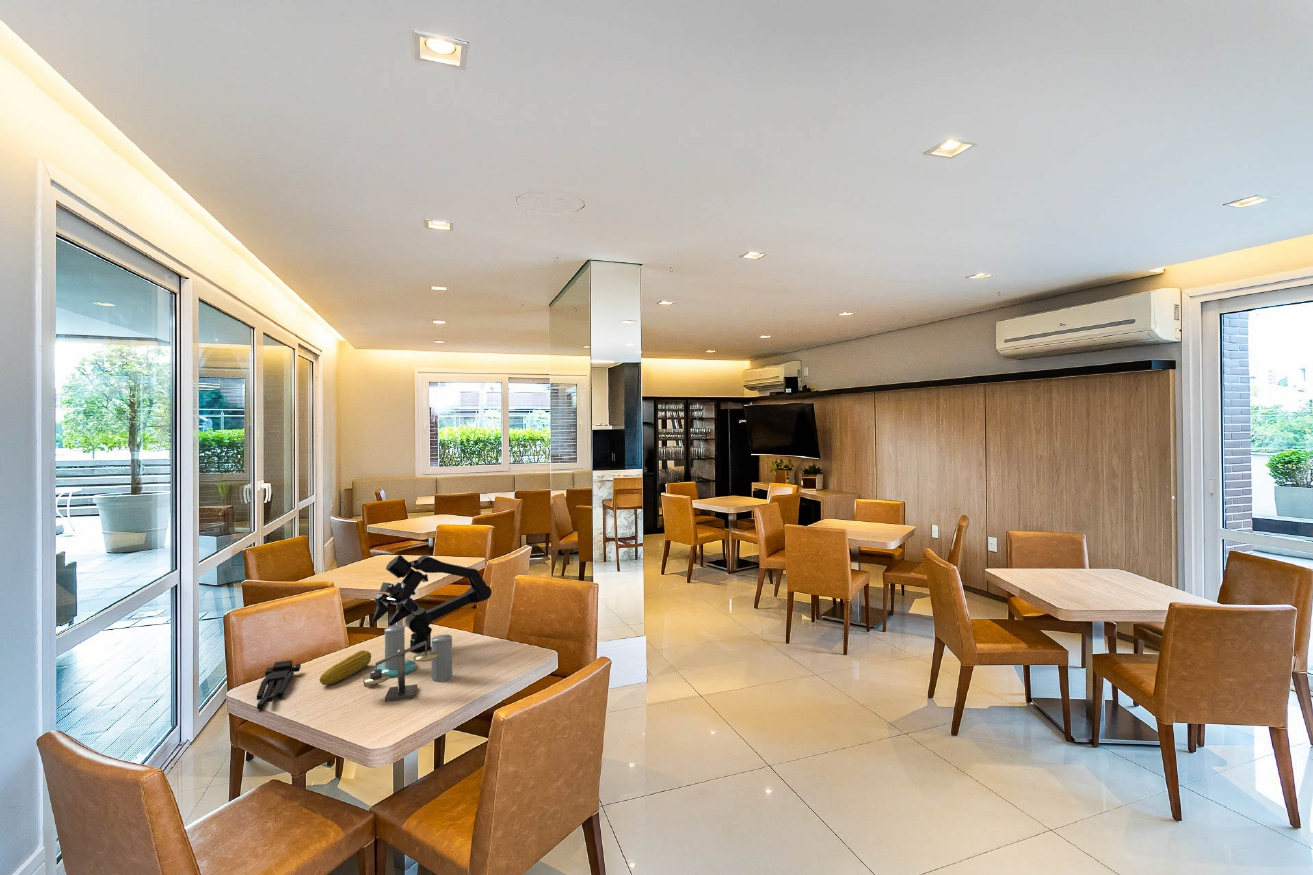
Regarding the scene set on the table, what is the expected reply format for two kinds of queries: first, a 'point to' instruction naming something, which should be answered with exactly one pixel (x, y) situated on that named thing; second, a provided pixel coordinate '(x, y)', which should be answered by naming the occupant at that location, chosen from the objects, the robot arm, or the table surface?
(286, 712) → the table surface
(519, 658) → the table surface
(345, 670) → the food
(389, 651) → the cup
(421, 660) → the balance
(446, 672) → the cup
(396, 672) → the dish
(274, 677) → the toy
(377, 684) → the block
